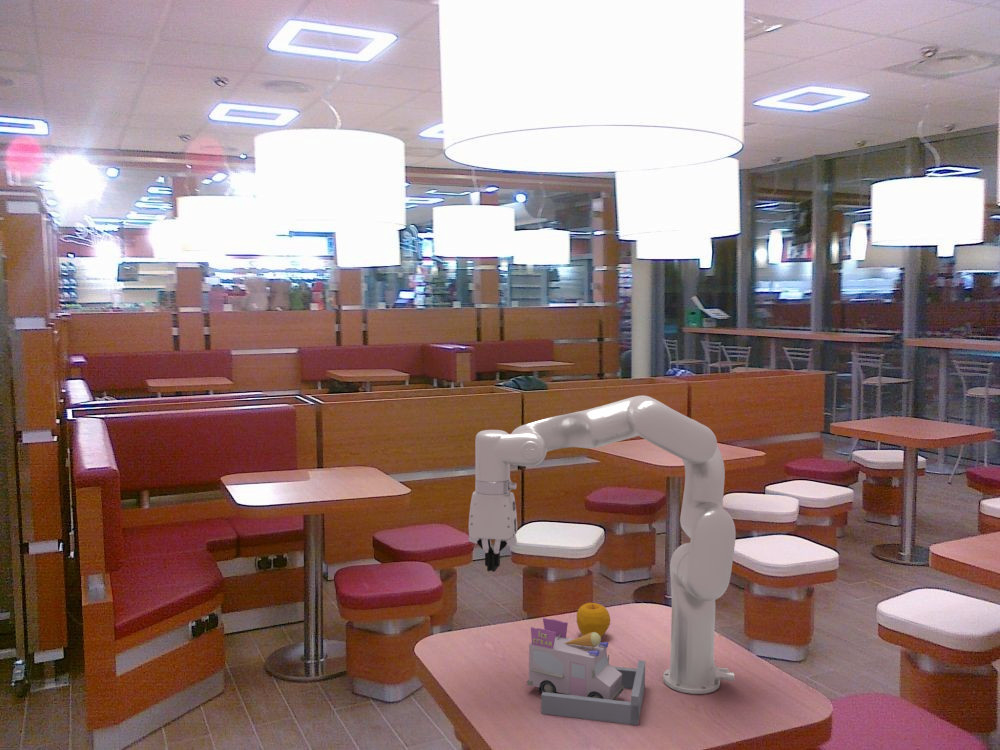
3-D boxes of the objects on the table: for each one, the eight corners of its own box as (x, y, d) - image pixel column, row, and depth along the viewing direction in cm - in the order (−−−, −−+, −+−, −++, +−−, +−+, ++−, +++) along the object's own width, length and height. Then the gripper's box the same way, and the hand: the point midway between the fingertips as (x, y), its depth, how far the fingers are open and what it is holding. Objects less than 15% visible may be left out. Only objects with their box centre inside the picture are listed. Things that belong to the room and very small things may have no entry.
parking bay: (644, 686, 194) (645, 660, 194) (637, 725, 177) (638, 696, 176) (556, 677, 199) (556, 651, 198) (541, 713, 182) (541, 685, 181)
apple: (616, 638, 222) (617, 604, 221) (594, 647, 216) (595, 612, 215) (591, 629, 228) (591, 596, 227) (569, 637, 222) (569, 603, 221)
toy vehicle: (609, 715, 181) (610, 645, 180) (525, 694, 190) (525, 627, 189) (624, 697, 189) (626, 630, 188) (543, 678, 199) (544, 614, 197)
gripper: (529, 485, 191) (529, 567, 193) (464, 481, 195) (464, 562, 196) (522, 492, 184) (522, 577, 186) (454, 489, 187) (454, 572, 189)
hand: (492, 569), depth 191 cm, fingers closed
